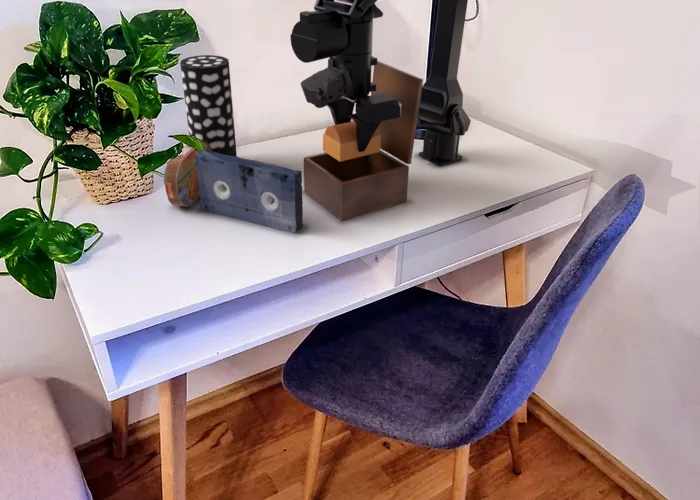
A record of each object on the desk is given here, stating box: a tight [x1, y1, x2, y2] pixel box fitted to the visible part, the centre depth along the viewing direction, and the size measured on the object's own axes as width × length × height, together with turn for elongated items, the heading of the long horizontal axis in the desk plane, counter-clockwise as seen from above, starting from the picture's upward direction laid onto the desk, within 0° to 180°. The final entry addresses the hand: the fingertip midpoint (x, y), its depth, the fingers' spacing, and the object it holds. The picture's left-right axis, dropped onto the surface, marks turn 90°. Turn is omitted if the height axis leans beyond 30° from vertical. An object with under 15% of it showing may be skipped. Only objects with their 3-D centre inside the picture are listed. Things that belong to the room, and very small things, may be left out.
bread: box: [322, 120, 381, 162], centre depth 103 cm, size 8×5×5 cm
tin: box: [163, 141, 212, 208], centre depth 107 cm, size 15×3×8 cm, turn 168°
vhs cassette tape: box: [195, 149, 304, 234], centre depth 100 cm, size 18×3×10 cm, turn 64°
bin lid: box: [370, 60, 424, 165], centre depth 106 cm, size 14×12×1 cm
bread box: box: [303, 149, 410, 222], centre depth 108 cm, size 13×12×7 cm
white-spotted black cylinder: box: [179, 54, 238, 157], centre depth 114 cm, size 8×8×20 cm
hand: (351, 145), depth 104 cm, fingers closed on bread, 5 cm apart
